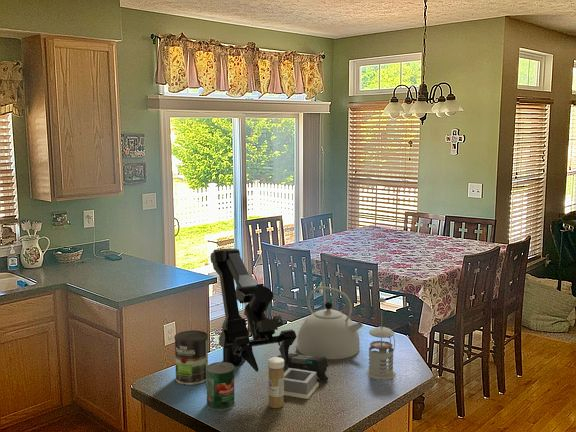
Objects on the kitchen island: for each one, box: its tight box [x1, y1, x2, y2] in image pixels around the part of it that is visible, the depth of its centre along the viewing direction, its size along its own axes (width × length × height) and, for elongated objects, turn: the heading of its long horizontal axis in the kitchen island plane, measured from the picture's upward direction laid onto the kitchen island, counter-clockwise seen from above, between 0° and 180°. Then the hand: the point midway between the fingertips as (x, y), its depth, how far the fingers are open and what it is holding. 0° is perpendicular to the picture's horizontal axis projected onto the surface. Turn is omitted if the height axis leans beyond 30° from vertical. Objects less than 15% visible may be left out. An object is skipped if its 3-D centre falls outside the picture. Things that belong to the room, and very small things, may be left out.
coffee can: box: [174, 329, 209, 386], centre depth 182 cm, size 10×10×14 cm
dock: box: [284, 368, 320, 400], centre depth 174 cm, size 10×10×4 cm
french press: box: [365, 297, 397, 381], centre depth 186 cm, size 10×12×25 cm
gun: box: [276, 352, 329, 383], centre depth 187 cm, size 4×20×10 cm, turn 42°
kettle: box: [296, 286, 364, 360], centre depth 208 cm, size 25×23×22 cm
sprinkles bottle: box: [267, 356, 285, 409], centre depth 163 cm, size 5×5×13 cm
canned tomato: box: [206, 361, 236, 411], centre depth 164 cm, size 8×8×11 cm
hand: (272, 368), depth 165 cm, fingers open, 9 cm apart
